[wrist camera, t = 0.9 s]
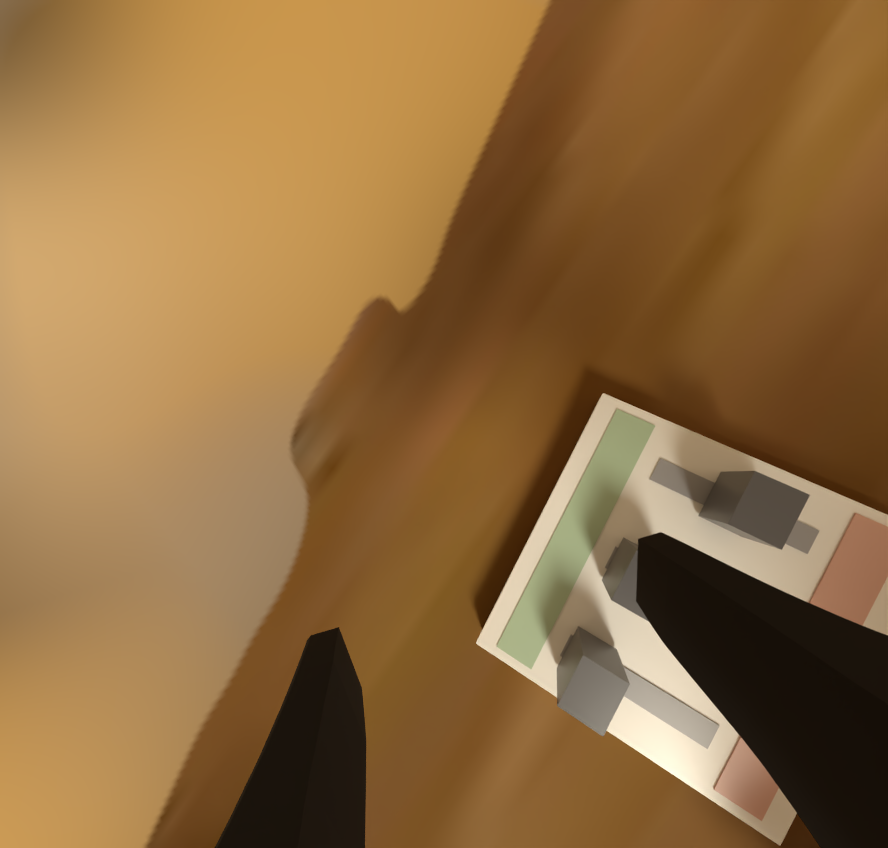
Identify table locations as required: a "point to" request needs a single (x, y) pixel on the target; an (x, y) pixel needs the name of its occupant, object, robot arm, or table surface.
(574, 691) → the block
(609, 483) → the breaker board
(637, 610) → the block
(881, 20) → the table surface
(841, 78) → the table surface
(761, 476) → the block
